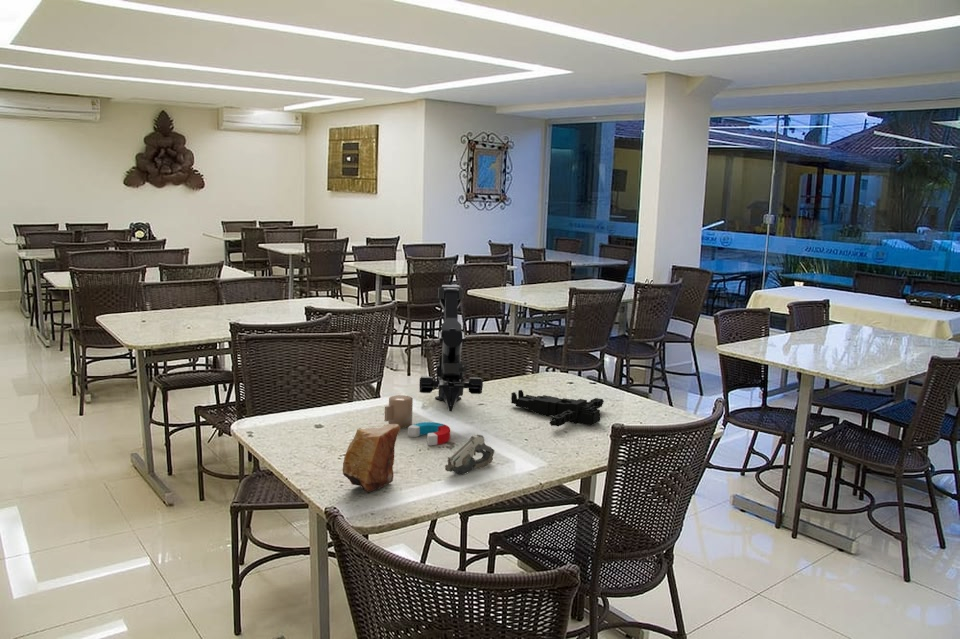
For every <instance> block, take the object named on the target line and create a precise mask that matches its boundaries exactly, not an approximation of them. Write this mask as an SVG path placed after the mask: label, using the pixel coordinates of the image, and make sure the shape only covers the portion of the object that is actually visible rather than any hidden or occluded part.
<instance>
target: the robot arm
mask: <svg viewBox="0 0 960 639" xmlns="http://www.w3.org/2000/svg"><path fill="white" fill-rule="evenodd" d="M437 298H438V299H439V305H440V306H441V308H442V310H443V311H444V317H443V318H444V319H443V320H444V322H443V323H441V331H439V332H438V333H439V334H438V344H441V346H442V350H441V354H440V357H439V359H438V364H436V373H435V374H436V376H435V378H436V380H434V377H433V376H420V377H419V384H418V385H419V393H422V394H430V393H432V392H433V390H434V388H435V389H438V395H437V396H435V397H434V399H437V400H438V401H439V400H440V401H443V402H445V404H446V407H447V410H448V412H449V413H450V412H453V411H454V407H455V406H456V402H457V401H459V400H462V397H463V395H464V389H468V393H470V394H471V395H481V394H482V393H483V387H484V380H483V379H482V378H481V377H468V378H469V380H468V381H464V378H465V377H464V376H465V373H467V361H465V360H464V361H463V360H462V359H461V358H462V357H461V356H462V355H461V354H462V349H463V348H462V346H463V345H464V344H465V343H466V342H467V336H466V334H465V332H464V331H462V330H463V328H462V324H461V323H460V322H459V316H458V313H459V312H458V309H459V308H460V306H461V303H462V302H461V301H462V300H463V299H464V288H461V287H460V284H459V285H458V284H442V285H441V286H440V287H438V294H437Z"/></svg>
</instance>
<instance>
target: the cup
mask: <svg viewBox="0 0 960 639" xmlns="http://www.w3.org/2000/svg"><path fill="white" fill-rule="evenodd" d="M413 399H414V398H413V397H412V396H409V395H405V394H404V395H392V396H390V397H389V398H388V405H384V421H385V422H388V424H398V425H399V426H400V429H406V428H407V429H408V427H409V426H411V425H413Z"/></svg>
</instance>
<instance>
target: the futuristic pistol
mask: <svg viewBox="0 0 960 639" xmlns="http://www.w3.org/2000/svg"><path fill="white" fill-rule="evenodd" d="M485 441H486V440H485V437H484V435H482V434H475V433H474V434H473V435H472V436H470V438H469V440H467V441H466V442H464V444H463V445H461V446H460V448H458V449H457V450H456V451H455V452H454V453H453V454H452V455H451V456H450V457H448V456H447V460H446V461H447V464H445V466H444V467H445V468H444V469H445V471H446V472H451V473H452V472H453V473H455V474H458V475H465V473H466V474H468V473H471V472H472V471H473V469H474V468H476V469H480V467H481V468H484V467H485V466H488V465H489V464H491V463H492V462H493V461H494V460H493V459H494V454H495V449H493V448H492V447H491V446H489V445H487V444H486V443H485ZM476 453H478V454H482V456H481V457H480V458H478V459H475V458H474V456H476ZM467 472H468V473H467Z"/></svg>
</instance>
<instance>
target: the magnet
mask: <svg viewBox="0 0 960 639" xmlns="http://www.w3.org/2000/svg"><path fill="white" fill-rule="evenodd" d="M424 435H427V438H426V439H427V440H426V442H427V446H436V445H442V444H445V443H447V442H449V441H450V439H451V428H450V426H448V425H447V424H444V423H441V422H431V421H429V422H428V421H427V422H426V421H425V422H418V423H417V422H416V423H414V424H412V425H411V426H409V427H408V428H407V437H413V438H418V437H419V436H424Z"/></svg>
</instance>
